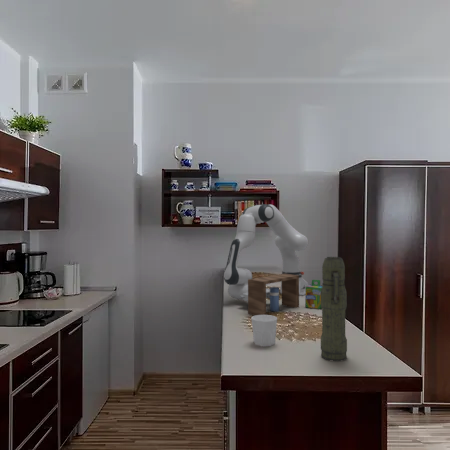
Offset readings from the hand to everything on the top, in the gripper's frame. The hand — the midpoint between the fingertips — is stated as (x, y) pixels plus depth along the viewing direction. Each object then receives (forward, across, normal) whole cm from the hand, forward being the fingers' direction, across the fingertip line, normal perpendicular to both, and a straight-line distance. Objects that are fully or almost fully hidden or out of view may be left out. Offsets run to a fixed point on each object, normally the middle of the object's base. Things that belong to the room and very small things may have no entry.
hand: (269, 297), depth 209 cm
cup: (+35, -45, +7) cm, 57 cm away
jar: (+3, 0, +6) cm, 7 cm away
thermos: (+62, -39, +7) cm, 74 cm away
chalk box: (+14, +22, +7) cm, 27 cm away
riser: (+3, 0, +6) cm, 7 cm away
